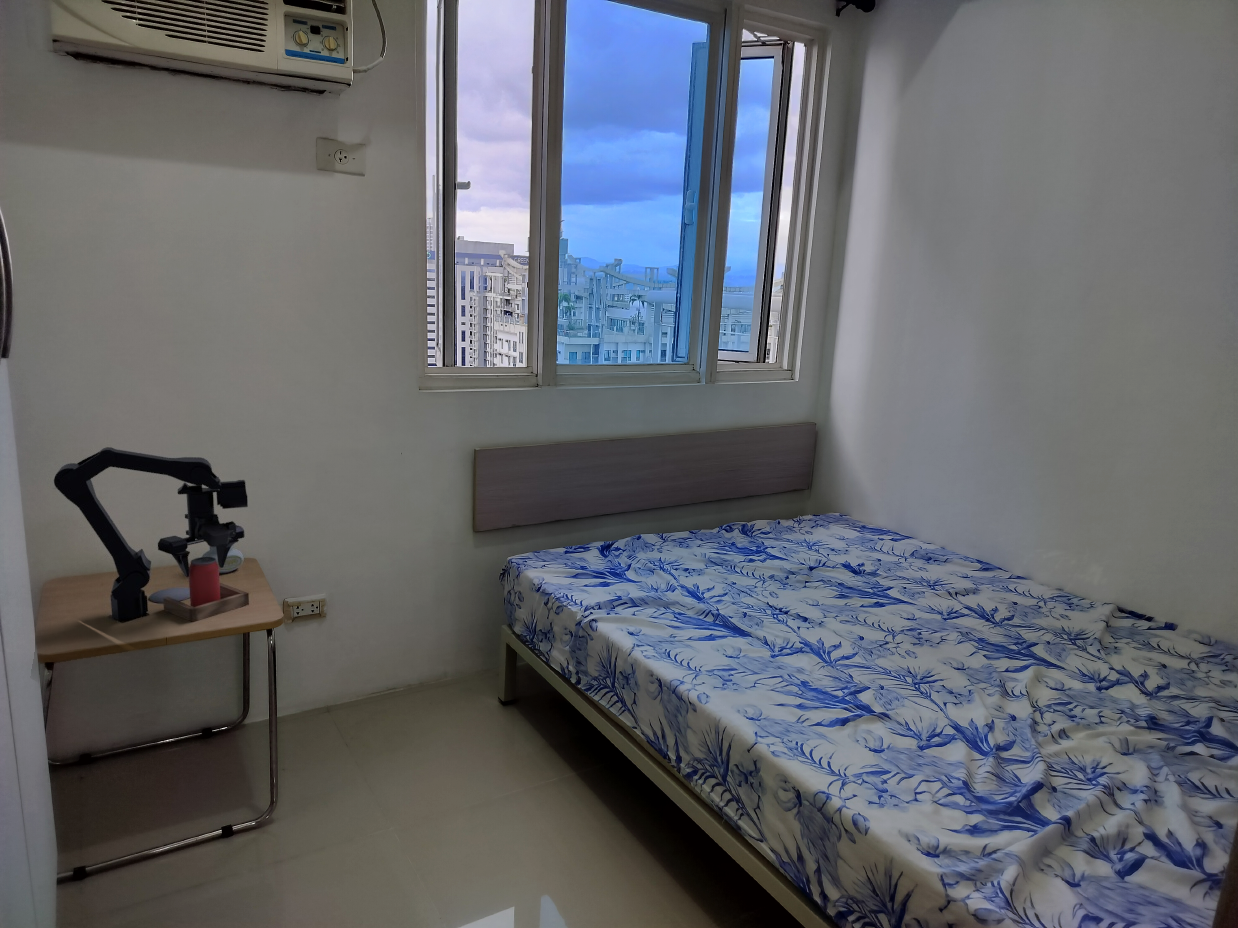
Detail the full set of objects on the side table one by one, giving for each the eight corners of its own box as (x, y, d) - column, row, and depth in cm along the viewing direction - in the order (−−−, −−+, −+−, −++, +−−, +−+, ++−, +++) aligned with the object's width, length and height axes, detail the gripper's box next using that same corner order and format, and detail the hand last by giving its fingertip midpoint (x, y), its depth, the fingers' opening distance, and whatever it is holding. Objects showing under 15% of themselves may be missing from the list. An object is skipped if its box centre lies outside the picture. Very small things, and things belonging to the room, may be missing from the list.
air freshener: (210, 578, 214) (208, 542, 212) (195, 571, 219) (193, 536, 217) (249, 569, 223) (247, 535, 221) (234, 562, 228) (232, 529, 226)
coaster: (163, 605, 194) (163, 604, 194) (141, 596, 199) (141, 595, 199) (202, 594, 202) (202, 593, 202) (181, 586, 207) (180, 584, 207)
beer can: (226, 602, 198) (223, 557, 195) (210, 612, 191) (207, 565, 189) (201, 600, 198) (198, 555, 196) (184, 610, 192) (181, 563, 189)
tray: (192, 621, 185) (191, 609, 185) (164, 609, 191) (163, 597, 191) (249, 604, 197) (248, 593, 197) (220, 593, 204) (219, 582, 203)
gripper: (181, 524, 178) (185, 589, 181) (256, 508, 194) (259, 569, 197) (154, 515, 184) (158, 579, 187) (229, 501, 199) (232, 560, 202)
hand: (204, 571), depth 193 cm, fingers open, 8 cm apart
